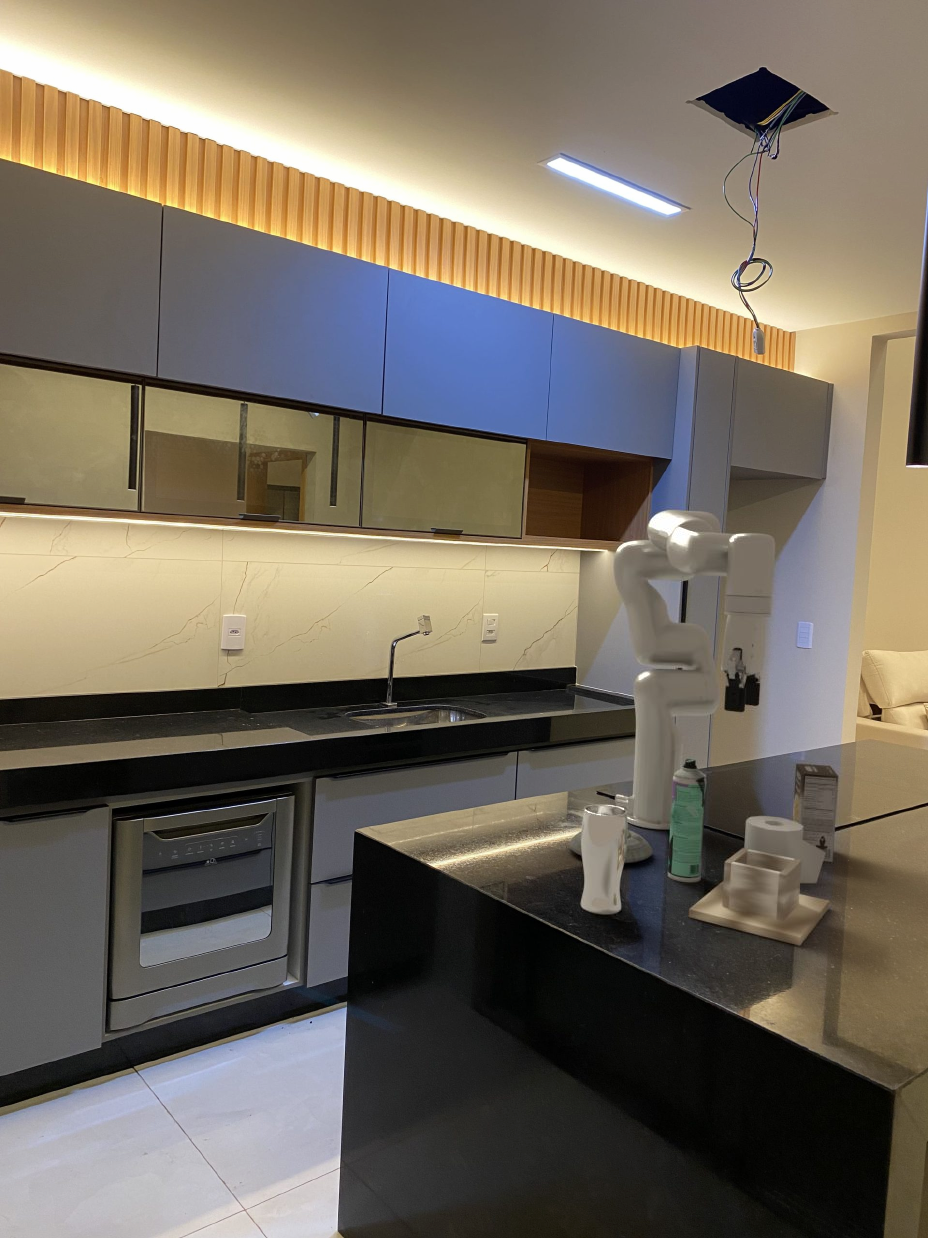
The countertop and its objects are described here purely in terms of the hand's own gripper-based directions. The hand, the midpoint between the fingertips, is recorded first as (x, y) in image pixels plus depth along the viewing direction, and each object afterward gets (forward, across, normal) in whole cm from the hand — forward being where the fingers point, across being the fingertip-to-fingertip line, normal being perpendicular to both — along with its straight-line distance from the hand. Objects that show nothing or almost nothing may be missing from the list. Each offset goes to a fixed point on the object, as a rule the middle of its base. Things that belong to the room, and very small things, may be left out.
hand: (741, 708), depth 152 cm
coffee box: (+29, -22, +9) cm, 38 cm away
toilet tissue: (+29, -6, +6) cm, 30 cm away
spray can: (+29, +6, -6) cm, 30 cm away
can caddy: (+29, +15, +8) cm, 33 cm away
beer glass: (+29, +28, -12) cm, 42 cm away
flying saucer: (+29, +2, -21) cm, 36 cm away
